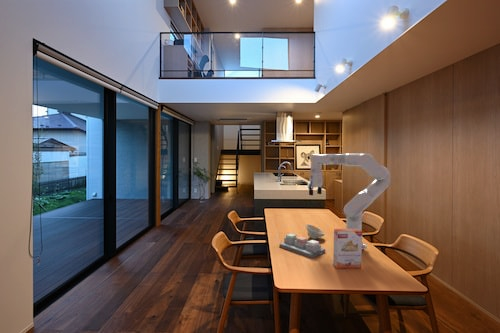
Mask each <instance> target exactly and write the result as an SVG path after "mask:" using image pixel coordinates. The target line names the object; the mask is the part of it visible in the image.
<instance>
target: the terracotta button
mask: <svg viewBox="0 0 500 333" xmlns="http://www.w3.org/2000/svg"><path fill="white" fill-rule="evenodd" d="M296 241H297V242H300V243H305V242H307V241H308V237H304V236H297V238H296Z"/></svg>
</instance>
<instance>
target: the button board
mask: <svg viewBox="0 0 500 333" xmlns="http://www.w3.org/2000/svg"><path fill="white" fill-rule="evenodd" d="M296 238H298V236H296ZM296 238H295V239H293V240H291V239H288V238H286V236H284V238H283V242H280V243H279V247H280V248H282V249H284V250H287V251H290V252H293V253H296V254H299V255H302V256H305V257H307V258H309V259H313V258H315V257H317V256H320V255H322V254H324V253H326V248H324V247H322V244H320V243H319V245H318V246H316V247H313V246H310V245H308V241H309V240H307V242H305V243H300V242H297V241H296Z"/></svg>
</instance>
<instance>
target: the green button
mask: <svg viewBox="0 0 500 333" xmlns="http://www.w3.org/2000/svg"><path fill="white" fill-rule="evenodd" d="M285 237H286V238H288V239H291V240H293V239H295V238H296V237H297V234H294V233H292V232H291V233H289V234H286V236H285Z"/></svg>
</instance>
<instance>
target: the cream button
mask: <svg viewBox="0 0 500 333" xmlns="http://www.w3.org/2000/svg"><path fill="white" fill-rule="evenodd" d="M307 241H308V245H310V246H313V247H316V246H318V245H319V244H320V241H317V240H316V239H310V240H307Z"/></svg>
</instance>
